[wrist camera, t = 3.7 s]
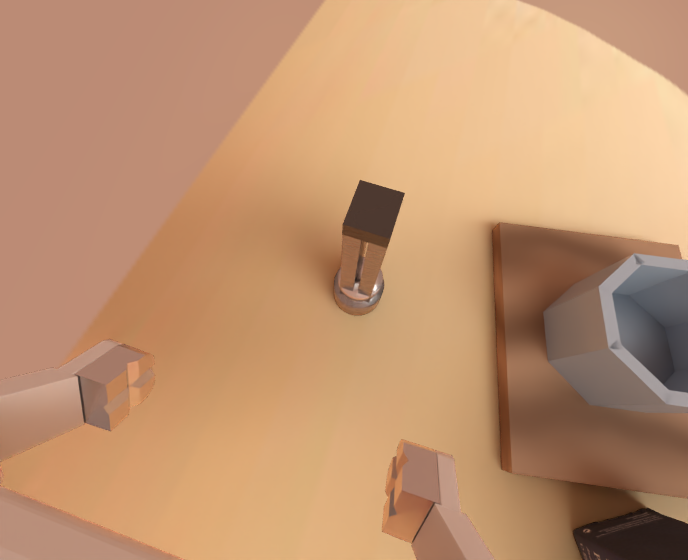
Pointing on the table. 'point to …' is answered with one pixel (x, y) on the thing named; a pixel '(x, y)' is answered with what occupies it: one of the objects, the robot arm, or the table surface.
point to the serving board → (554, 391)
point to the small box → (634, 538)
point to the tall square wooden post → (359, 228)
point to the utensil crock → (625, 335)
